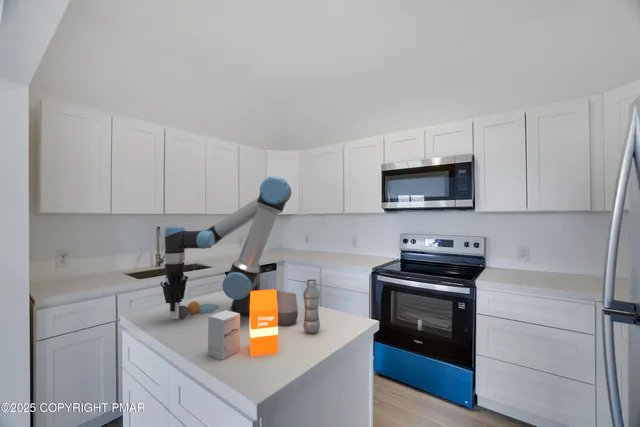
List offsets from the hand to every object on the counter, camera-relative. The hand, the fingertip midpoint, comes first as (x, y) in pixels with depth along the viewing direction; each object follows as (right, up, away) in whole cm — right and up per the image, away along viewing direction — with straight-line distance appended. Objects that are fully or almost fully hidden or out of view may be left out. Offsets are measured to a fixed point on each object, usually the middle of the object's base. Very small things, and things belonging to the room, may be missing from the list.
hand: (174, 318), depth 119 cm
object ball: (+3, +1, +11) cm, 11 cm away
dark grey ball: (+1, +1, +5) cm, 5 cm away
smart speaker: (+48, -2, -1) cm, 48 cm away
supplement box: (+30, -2, -27) cm, 40 cm away
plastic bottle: (+58, -2, -10) cm, 59 cm away
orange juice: (+43, -2, -24) cm, 49 cm away
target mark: (+5, -2, +17) cm, 18 cm away
